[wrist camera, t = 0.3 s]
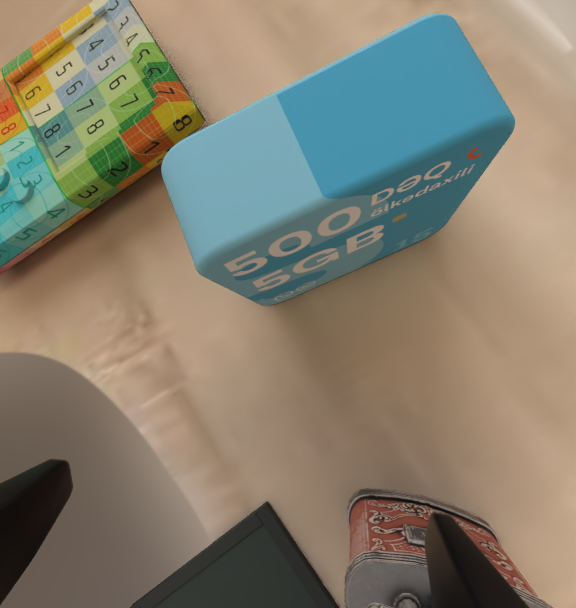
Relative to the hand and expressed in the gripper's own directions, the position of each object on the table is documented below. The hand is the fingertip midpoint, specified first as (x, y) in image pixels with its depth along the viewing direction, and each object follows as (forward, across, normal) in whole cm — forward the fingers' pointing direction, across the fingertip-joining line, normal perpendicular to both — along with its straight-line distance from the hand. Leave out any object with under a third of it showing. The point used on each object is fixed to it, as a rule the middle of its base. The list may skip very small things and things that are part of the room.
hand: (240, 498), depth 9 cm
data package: (+17, -2, -4) cm, 18 cm away
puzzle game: (+21, +18, -8) cm, 29 cm away
